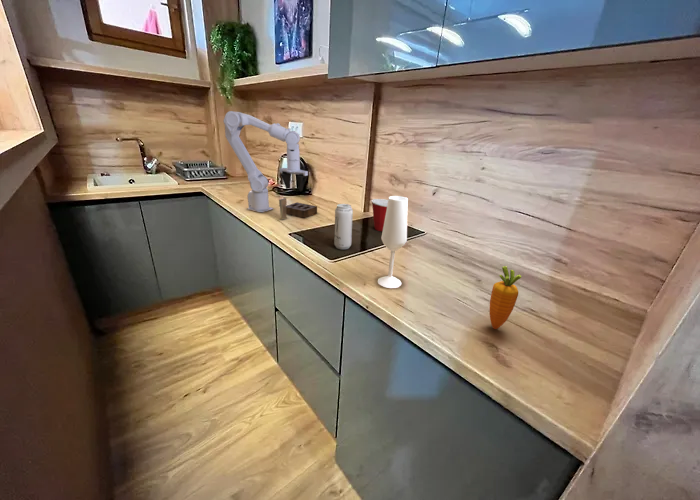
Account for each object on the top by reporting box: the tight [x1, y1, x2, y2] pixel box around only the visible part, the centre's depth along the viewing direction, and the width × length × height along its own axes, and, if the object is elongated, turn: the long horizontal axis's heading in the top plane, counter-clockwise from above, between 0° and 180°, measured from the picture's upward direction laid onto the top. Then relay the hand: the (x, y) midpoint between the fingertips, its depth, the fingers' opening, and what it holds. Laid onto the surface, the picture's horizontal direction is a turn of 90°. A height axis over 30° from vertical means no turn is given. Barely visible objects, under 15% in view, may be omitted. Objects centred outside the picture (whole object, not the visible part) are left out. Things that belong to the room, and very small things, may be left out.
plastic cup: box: [370, 198, 388, 232], centre depth 125 cm, size 11×11×12 cm
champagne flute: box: [377, 195, 409, 289], centre depth 81 cm, size 7×7×24 cm
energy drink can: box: [333, 203, 354, 250], centre depth 105 cm, size 6×6×15 cm
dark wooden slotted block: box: [286, 201, 318, 219], centre depth 143 cm, size 12×10×4 cm
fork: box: [278, 197, 288, 221], centre depth 133 cm, size 1×4×9 cm, turn 151°
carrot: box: [489, 265, 522, 330], centre depth 65 cm, size 5×5×15 cm
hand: (294, 189), depth 143 cm, fingers open, 7 cm apart
